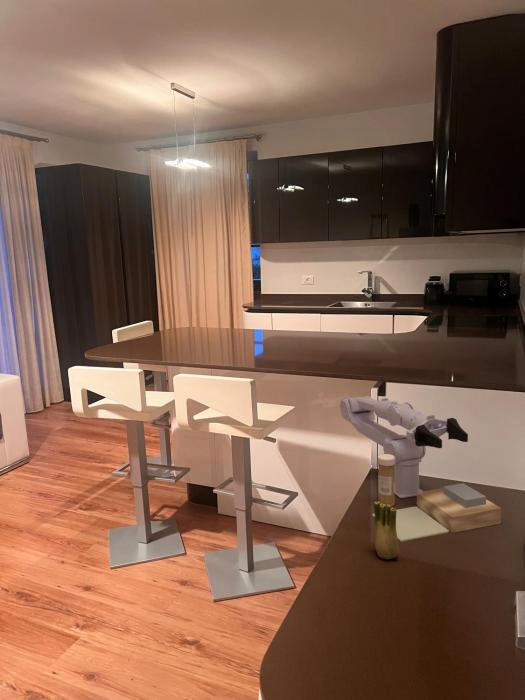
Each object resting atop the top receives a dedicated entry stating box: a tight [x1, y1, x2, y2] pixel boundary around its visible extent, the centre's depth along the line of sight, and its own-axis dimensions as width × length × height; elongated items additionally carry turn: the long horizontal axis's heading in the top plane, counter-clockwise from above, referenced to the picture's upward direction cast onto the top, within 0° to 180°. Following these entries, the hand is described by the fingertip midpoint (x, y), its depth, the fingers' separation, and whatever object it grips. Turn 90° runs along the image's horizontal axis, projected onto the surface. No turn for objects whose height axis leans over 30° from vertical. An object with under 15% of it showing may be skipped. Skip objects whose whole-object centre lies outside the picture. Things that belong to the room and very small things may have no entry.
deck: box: [416, 487, 502, 534], centre depth 129 cm, size 15×14×4 cm
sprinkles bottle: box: [377, 453, 396, 507], centre depth 136 cm, size 5×5×13 cm
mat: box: [371, 506, 450, 543], centre depth 126 cm, size 14×13×1 cm
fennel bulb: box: [373, 501, 400, 560], centre depth 111 cm, size 6×5×12 cm
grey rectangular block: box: [442, 482, 487, 508], centre depth 129 cm, size 9×6×2 cm, turn 16°
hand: (454, 441), depth 123 cm, fingers open, 7 cm apart
